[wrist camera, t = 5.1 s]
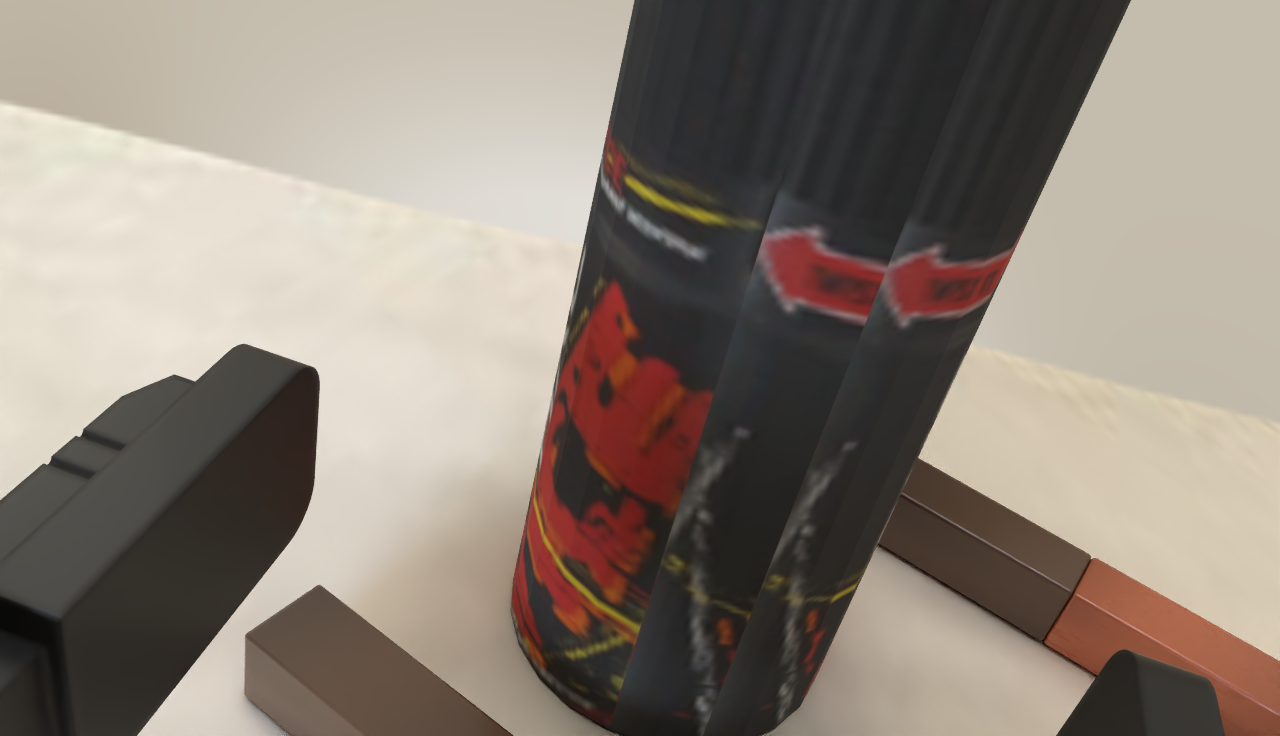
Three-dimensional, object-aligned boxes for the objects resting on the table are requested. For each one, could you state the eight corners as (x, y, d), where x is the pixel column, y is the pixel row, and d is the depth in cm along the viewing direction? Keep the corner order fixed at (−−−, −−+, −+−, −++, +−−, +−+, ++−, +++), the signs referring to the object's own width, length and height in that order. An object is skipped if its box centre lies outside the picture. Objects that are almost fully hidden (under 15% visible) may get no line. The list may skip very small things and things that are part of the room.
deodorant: (859, 748, 20) (1340, -163, 11) (522, 751, 18) (781, -296, 10) (775, 510, 24) (1071, -262, 16) (501, 497, 23) (664, -362, 14)
